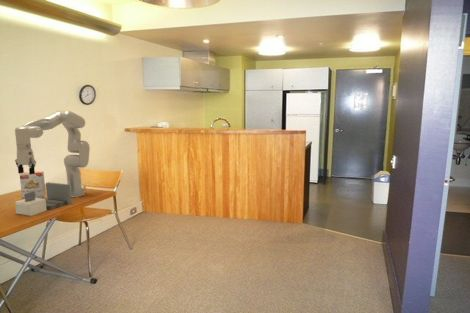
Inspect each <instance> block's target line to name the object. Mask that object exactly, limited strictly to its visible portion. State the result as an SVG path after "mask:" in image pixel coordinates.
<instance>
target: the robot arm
mask: <svg viewBox="0 0 470 313" xmlns="http://www.w3.org/2000/svg"><path fill="white" fill-rule="evenodd" d="M61 124H62V126H63V127H64V128H65V130H66V131H67V134H68V135H67V137H68V138H67V139H68V140H67V151H68V153H72V154H68V155H66V156H65V157H64V158H63V163H64V164H63V165H64V166H65V172H66V181H67V183H66V184H70V195H71V198H79V197H82V196H85V191H87V187H84V188H83V186H82V177H81V176H82V175H81V170H80V168H82V169H84V168H86V167H87V166H88V165H89V160H90V150H91V149H90V144H89V142H88V141H86V140H82V138H81V137H82V134H81V131H80V130H79V129H82V128H84V127H85V125H86V120H85V119H84V118H83V117H82V116H80V115H79V114H76V113H74V112H73V111H70V110H58V111H55V112H53V113H51V114H49V115H47V116H44V117H42V118H40V119H37V120H33V121H30V122H28V123H26V124H23V125H22V126H20V127H19V126H16V127H15V128H14V135H15V144H16V158H15V160H14V162H15V165H16V167H17V171H18V174H19V175H20V174H21V173H24V172H25V170H24V166H27V167H29V168H28V172H29V174H30V175H31V174H35V172H36V171H35V168H36V164H37V161H36V159H35V156H34V152H33V148H32V145H31V139H33V138H34V139H37V138H38V139H39V138H41V137H42V136H43V134H44V131H47V130H53V129H54V128H56V127H57V126H59V125H61Z"/></svg>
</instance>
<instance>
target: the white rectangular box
mask: <svg viewBox="0 0 470 313" xmlns="http://www.w3.org/2000/svg"><path fill="white" fill-rule="evenodd" d="M24 196H25V199H23V200H22V199H21V200H17V201H14V204H15V213H16V214H17V215H23V216H28V217H29V216H30V217H32V216H35V215H37V214H42V213H44V212H46V211H48V210H47V209H46V200H47V199H41V198H35V192H30V193H26V194H24Z"/></svg>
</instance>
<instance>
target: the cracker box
mask: <svg viewBox="0 0 470 313" xmlns="http://www.w3.org/2000/svg"><path fill="white" fill-rule="evenodd" d="M19 181H20V190H21V200H23V199H25V196H24V194H26V193H30V192H35V198H41V199H45V200H47V191H46V182H45V174H44V171H42V170H41V171H35V174H31V175H30V174H29V171H26V172H25V171H24V173H20V174H19Z"/></svg>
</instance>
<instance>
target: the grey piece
mask: <svg viewBox="0 0 470 313" xmlns="http://www.w3.org/2000/svg"><path fill="white" fill-rule="evenodd" d="M45 191H46V199H45V200H46V210H47V211H48V210H49V211H52V210H54V209H58V208H60V207H64V206H67V205H68V206H69V205H71V204H72V197H71V195H70V184H67V183H60V182H59V183H58V182H45Z"/></svg>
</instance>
